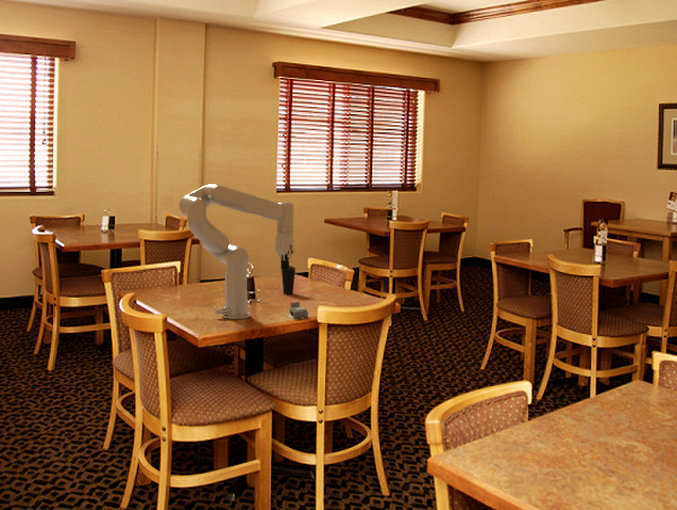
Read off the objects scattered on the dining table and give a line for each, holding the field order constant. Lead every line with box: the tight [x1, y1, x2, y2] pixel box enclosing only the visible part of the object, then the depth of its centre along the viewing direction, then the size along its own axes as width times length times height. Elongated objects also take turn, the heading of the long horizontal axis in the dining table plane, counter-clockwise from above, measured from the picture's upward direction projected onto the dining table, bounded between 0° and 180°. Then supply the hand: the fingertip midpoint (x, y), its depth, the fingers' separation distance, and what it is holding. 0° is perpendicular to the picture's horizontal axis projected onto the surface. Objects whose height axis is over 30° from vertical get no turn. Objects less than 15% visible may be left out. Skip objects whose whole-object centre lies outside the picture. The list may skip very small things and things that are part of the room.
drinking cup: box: [281, 265, 297, 295], centre depth 356 cm, size 8×8×20 cm
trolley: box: [289, 301, 308, 315], centre depth 310 cm, size 7×6×6 cm
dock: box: [285, 310, 309, 320], centre depth 310 cm, size 7×10×3 cm
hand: (284, 268), depth 318 cm, fingers closed
